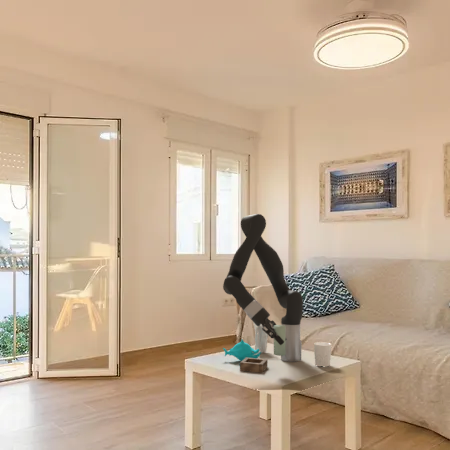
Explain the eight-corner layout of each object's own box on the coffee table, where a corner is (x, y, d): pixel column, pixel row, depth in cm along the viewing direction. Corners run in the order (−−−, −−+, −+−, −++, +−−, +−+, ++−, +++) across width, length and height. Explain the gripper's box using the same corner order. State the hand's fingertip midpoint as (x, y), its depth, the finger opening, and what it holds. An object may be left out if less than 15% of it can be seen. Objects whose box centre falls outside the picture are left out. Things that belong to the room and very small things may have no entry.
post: (272, 355, 203) (272, 326, 204) (275, 352, 208) (275, 324, 208) (284, 356, 202) (284, 327, 202) (286, 353, 206) (286, 325, 207)
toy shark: (260, 364, 221) (261, 341, 222) (222, 363, 222) (222, 340, 222) (260, 359, 231) (260, 337, 231) (222, 358, 232) (223, 336, 232)
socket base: (240, 370, 210) (240, 362, 210) (246, 365, 219) (246, 357, 219) (262, 372, 207) (262, 364, 207) (267, 367, 216) (267, 359, 216)
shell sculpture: (271, 353, 244) (271, 318, 245) (255, 354, 242) (256, 318, 243) (266, 350, 252) (266, 315, 253) (251, 350, 250) (251, 316, 251)
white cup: (331, 364, 224) (331, 342, 224) (331, 368, 216) (331, 345, 217) (314, 362, 226) (314, 341, 226) (313, 366, 218) (313, 344, 219)
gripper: (258, 309, 201) (287, 339, 197) (266, 304, 215) (293, 333, 210) (246, 321, 202) (274, 351, 198) (254, 316, 216) (281, 344, 212)
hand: (283, 342), depth 204 cm, fingers closed on post, 5 cm apart
